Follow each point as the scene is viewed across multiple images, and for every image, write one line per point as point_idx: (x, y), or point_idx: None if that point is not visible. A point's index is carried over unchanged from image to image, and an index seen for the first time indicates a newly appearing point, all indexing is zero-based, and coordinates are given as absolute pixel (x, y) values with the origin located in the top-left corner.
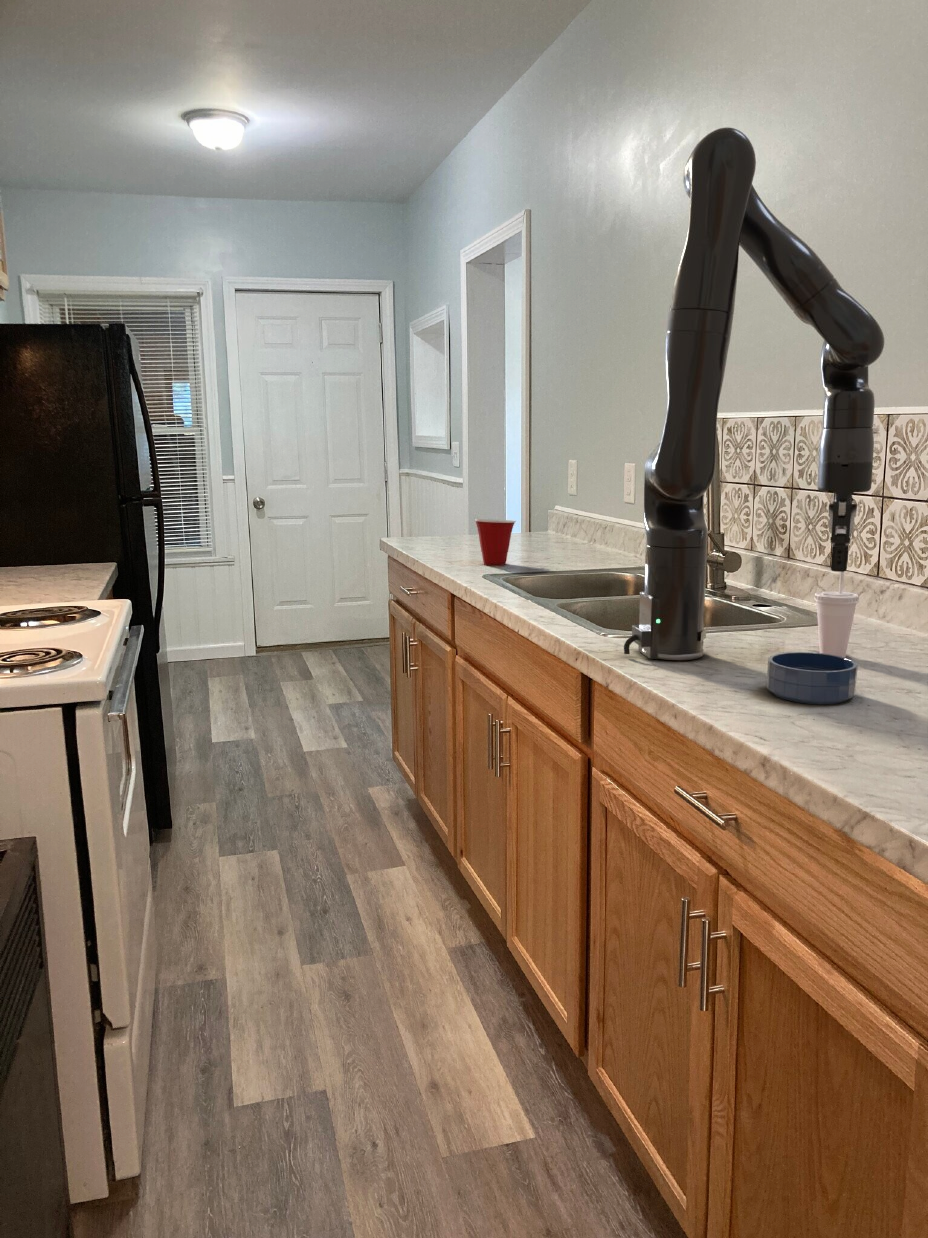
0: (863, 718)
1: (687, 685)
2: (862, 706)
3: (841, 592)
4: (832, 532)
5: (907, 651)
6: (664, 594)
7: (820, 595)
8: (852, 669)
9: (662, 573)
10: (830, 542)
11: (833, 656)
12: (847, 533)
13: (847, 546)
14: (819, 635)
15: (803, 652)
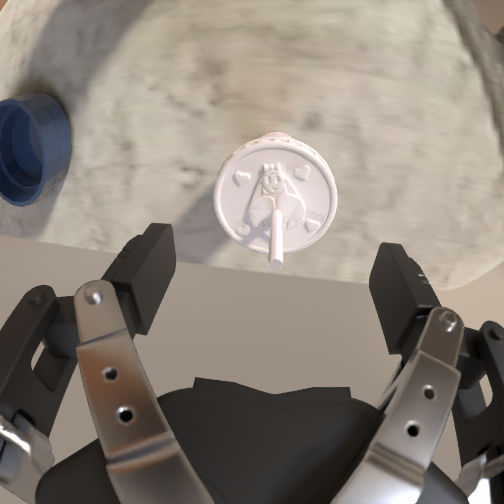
0: None
1: (30, 7)
2: None
3: (270, 217)
4: (9, 320)
5: (340, 268)
6: None
7: (236, 156)
8: (8, 201)
9: None
10: (86, 285)
11: (42, 175)
12: (41, 362)
13: (138, 332)
14: (266, 135)
15: (39, 133)
